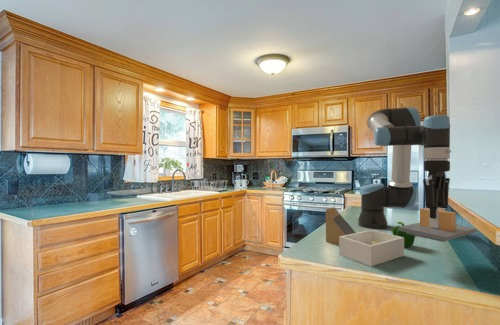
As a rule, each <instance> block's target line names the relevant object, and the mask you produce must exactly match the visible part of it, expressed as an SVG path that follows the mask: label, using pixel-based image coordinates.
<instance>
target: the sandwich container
mask: <svg viewBox="0 0 500 325" xmlns="http://www.w3.org/2000/svg"><path fill="white" fill-rule="evenodd" d="M354 233H357V232H356V231H355V229H353V228H352V227H351V225H350V224H349V223H348V222H347V221H346V220H345V218H344V217H343V216H342V215H341V213H340V212H339V211H338V210H337V209H336V207H330V208H326V209H325V241H326V243H329V244H333V245H338V246H339V237H340V236H344V235H349V234H354Z"/></svg>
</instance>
